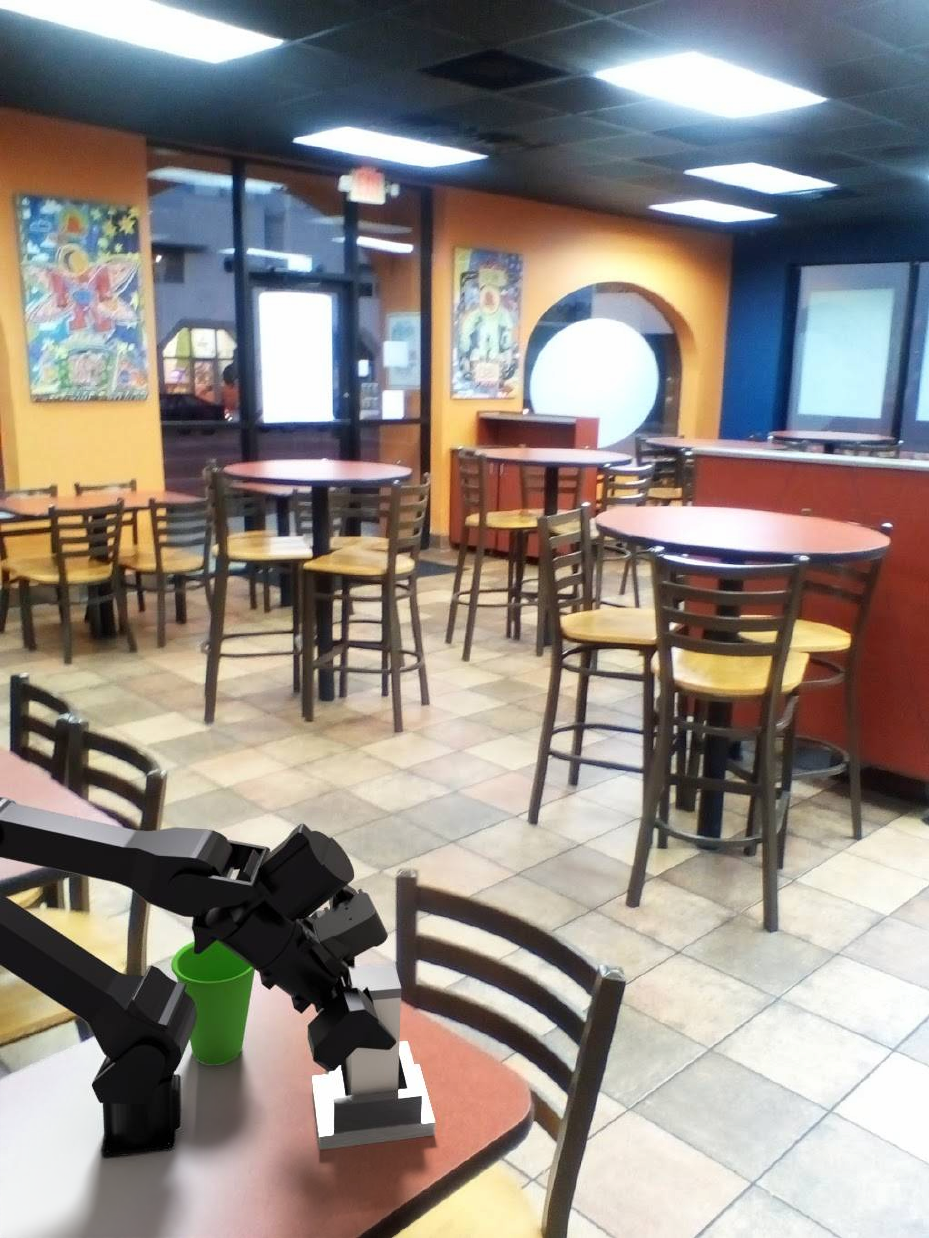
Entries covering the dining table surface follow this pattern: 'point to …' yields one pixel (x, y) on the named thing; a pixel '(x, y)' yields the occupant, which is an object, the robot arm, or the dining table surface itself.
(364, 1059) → the plug
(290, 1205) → the dining table surface
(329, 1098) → the socket
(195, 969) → the cup
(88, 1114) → the dining table surface
